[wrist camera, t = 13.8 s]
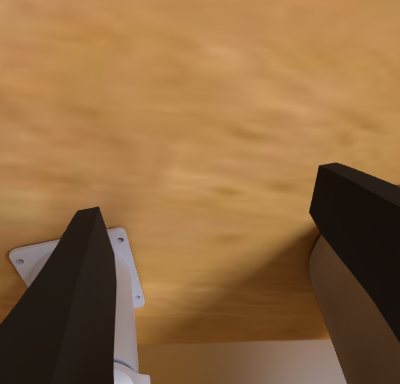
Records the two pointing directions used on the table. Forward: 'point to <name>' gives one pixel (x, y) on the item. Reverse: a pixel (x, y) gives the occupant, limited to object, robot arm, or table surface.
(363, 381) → the plant pot
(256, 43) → the table surface
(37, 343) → the robot arm
